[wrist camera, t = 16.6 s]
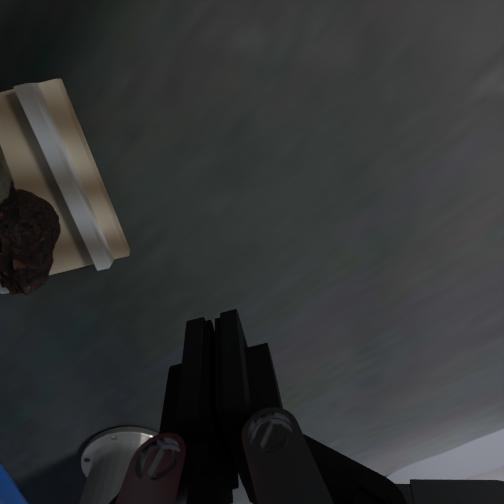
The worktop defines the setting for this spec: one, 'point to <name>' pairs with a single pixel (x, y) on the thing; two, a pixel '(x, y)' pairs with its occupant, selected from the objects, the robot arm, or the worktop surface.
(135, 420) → the worktop surface
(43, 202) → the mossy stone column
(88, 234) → the pipe cradle
